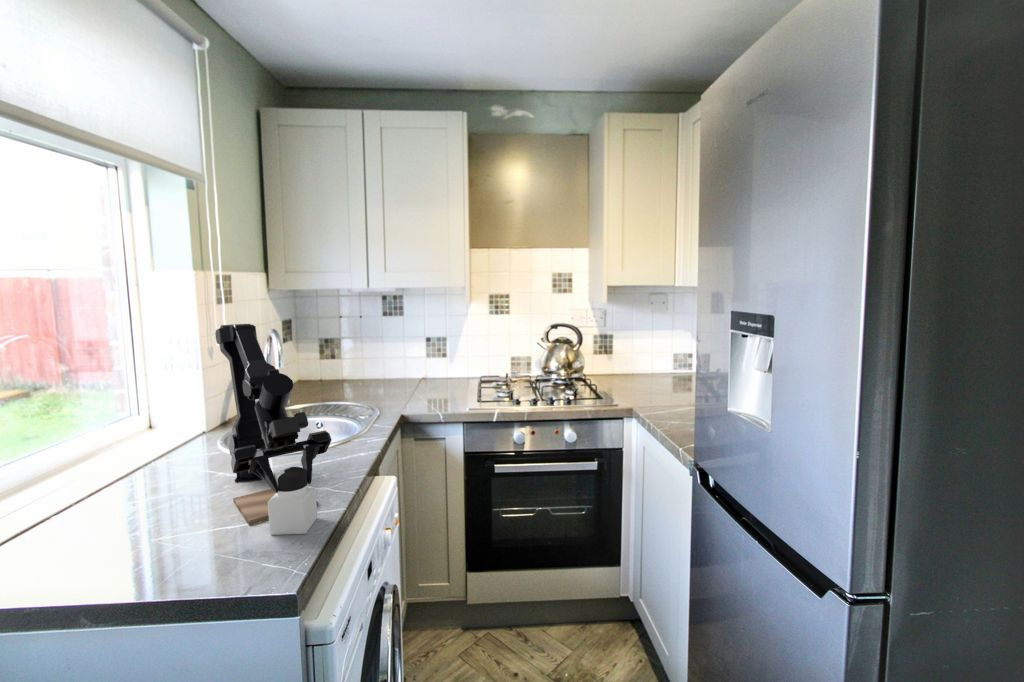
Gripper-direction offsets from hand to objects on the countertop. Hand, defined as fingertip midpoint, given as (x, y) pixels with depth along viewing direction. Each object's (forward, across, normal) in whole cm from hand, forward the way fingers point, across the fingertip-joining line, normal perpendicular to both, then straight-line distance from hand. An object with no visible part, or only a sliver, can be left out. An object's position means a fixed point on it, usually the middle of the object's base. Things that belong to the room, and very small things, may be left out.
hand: (293, 487), depth 104 cm
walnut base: (-4, 0, +17) cm, 17 cm away
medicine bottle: (+5, 0, +7) cm, 9 cm away
